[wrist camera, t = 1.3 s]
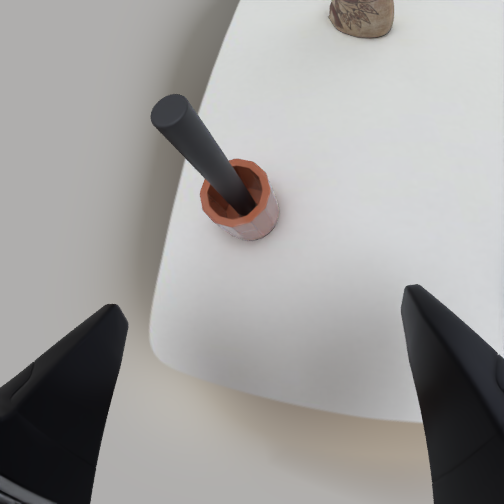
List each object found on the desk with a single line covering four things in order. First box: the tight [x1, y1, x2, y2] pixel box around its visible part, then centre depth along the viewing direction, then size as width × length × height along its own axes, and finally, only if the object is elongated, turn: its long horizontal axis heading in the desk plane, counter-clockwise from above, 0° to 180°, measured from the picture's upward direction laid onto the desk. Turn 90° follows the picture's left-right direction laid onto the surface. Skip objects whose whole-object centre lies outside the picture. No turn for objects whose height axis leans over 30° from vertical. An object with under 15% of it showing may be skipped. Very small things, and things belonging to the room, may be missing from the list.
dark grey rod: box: [151, 94, 257, 217], centre depth 16 cm, size 2×2×14 cm
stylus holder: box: [200, 159, 279, 241], centre depth 21 cm, size 4×4×5 cm
